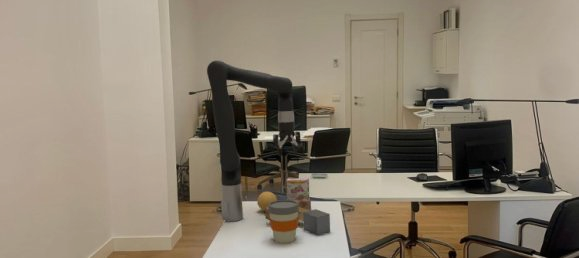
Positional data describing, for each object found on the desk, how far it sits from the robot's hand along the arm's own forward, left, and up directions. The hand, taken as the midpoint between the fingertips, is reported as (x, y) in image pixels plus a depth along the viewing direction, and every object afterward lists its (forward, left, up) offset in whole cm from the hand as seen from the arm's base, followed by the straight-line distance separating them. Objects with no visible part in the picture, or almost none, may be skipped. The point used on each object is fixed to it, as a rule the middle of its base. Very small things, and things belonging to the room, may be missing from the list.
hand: (287, 154), depth 220 cm
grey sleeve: (-3, -24, -30) cm, 39 cm away
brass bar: (-3, -13, -27) cm, 30 cm away
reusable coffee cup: (-19, -23, -30) cm, 43 cm away
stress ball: (-3, +15, -30) cm, 34 cm away
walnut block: (-3, -3, -30) cm, 30 cm away
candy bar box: (+8, +4, -30) cm, 32 cm away
